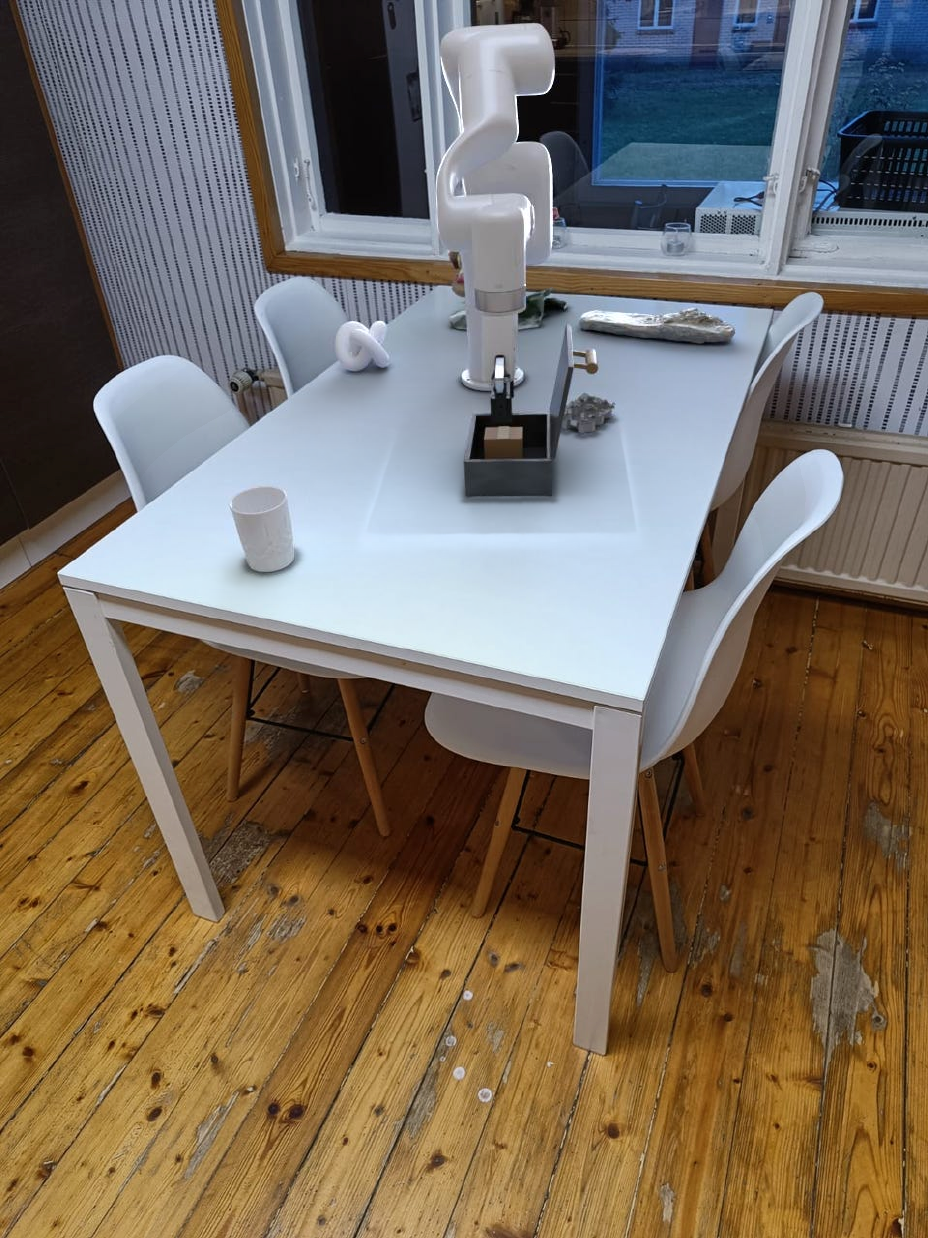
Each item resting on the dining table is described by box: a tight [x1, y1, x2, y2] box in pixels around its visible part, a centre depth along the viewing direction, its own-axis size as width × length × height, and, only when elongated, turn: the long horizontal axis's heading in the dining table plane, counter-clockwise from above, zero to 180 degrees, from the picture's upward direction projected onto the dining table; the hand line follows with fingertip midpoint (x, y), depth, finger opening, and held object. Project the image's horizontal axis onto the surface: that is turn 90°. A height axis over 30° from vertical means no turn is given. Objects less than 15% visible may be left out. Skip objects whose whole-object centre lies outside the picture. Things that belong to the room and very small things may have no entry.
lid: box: [549, 324, 599, 459], centre depth 133 cm, size 14×18×5 cm
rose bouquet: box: [447, 206, 569, 331], centre depth 198 cm, size 26×29×30 cm
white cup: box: [228, 485, 295, 573], centre depth 122 cm, size 8×8×10 cm
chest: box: [463, 411, 553, 498], centre depth 140 cm, size 14×18×7 cm
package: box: [484, 426, 523, 459], centre depth 140 cm, size 6×4×7 cm
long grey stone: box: [578, 307, 736, 345], centre depth 191 cm, size 35×5×10 cm
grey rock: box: [561, 392, 616, 434], centre depth 155 cm, size 11×8×4 cm
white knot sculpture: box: [334, 320, 390, 372], centre depth 183 cm, size 11×12×9 cm
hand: (503, 409), depth 135 cm, fingers open, 9 cm apart
